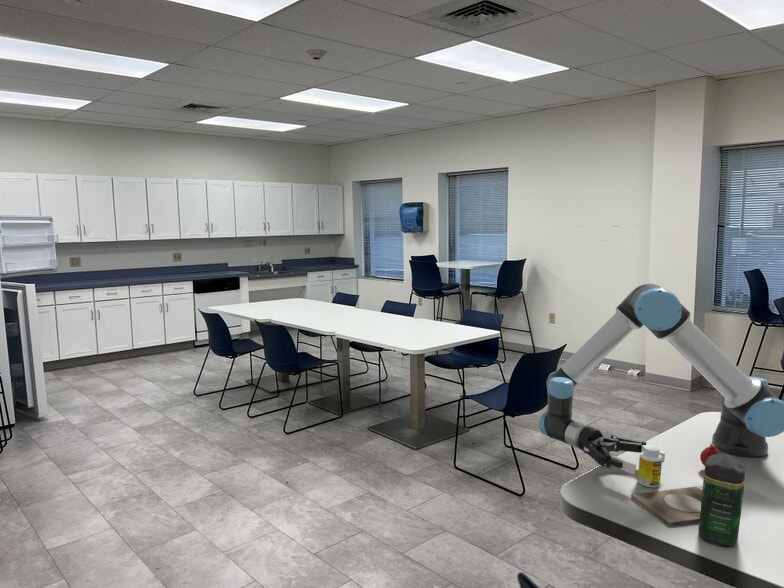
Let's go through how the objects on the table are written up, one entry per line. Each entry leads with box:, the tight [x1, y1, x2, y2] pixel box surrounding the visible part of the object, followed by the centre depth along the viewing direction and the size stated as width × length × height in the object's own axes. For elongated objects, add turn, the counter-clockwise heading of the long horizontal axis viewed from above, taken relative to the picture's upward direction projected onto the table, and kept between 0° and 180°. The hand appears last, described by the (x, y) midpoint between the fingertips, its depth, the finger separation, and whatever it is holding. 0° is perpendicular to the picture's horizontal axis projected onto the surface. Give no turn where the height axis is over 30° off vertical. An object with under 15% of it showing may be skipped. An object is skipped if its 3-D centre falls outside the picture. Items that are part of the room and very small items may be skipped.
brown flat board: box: [630, 486, 703, 527], centre depth 143 cm, size 20×14×1 cm
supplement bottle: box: [637, 444, 662, 488], centre depth 154 cm, size 6×6×10 cm
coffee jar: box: [698, 453, 746, 547], centre depth 128 cm, size 10×8×19 cm
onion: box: [699, 443, 723, 467], centre depth 163 cm, size 6×6×8 cm
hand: (649, 463), depth 154 cm, fingers open, 13 cm apart
